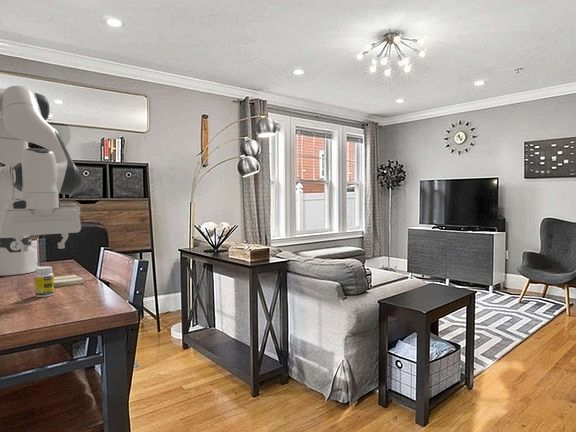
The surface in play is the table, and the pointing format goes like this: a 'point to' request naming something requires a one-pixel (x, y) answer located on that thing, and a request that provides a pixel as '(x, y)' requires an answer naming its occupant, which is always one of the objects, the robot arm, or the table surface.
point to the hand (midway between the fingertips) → (43, 249)
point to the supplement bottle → (44, 282)
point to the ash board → (67, 280)
